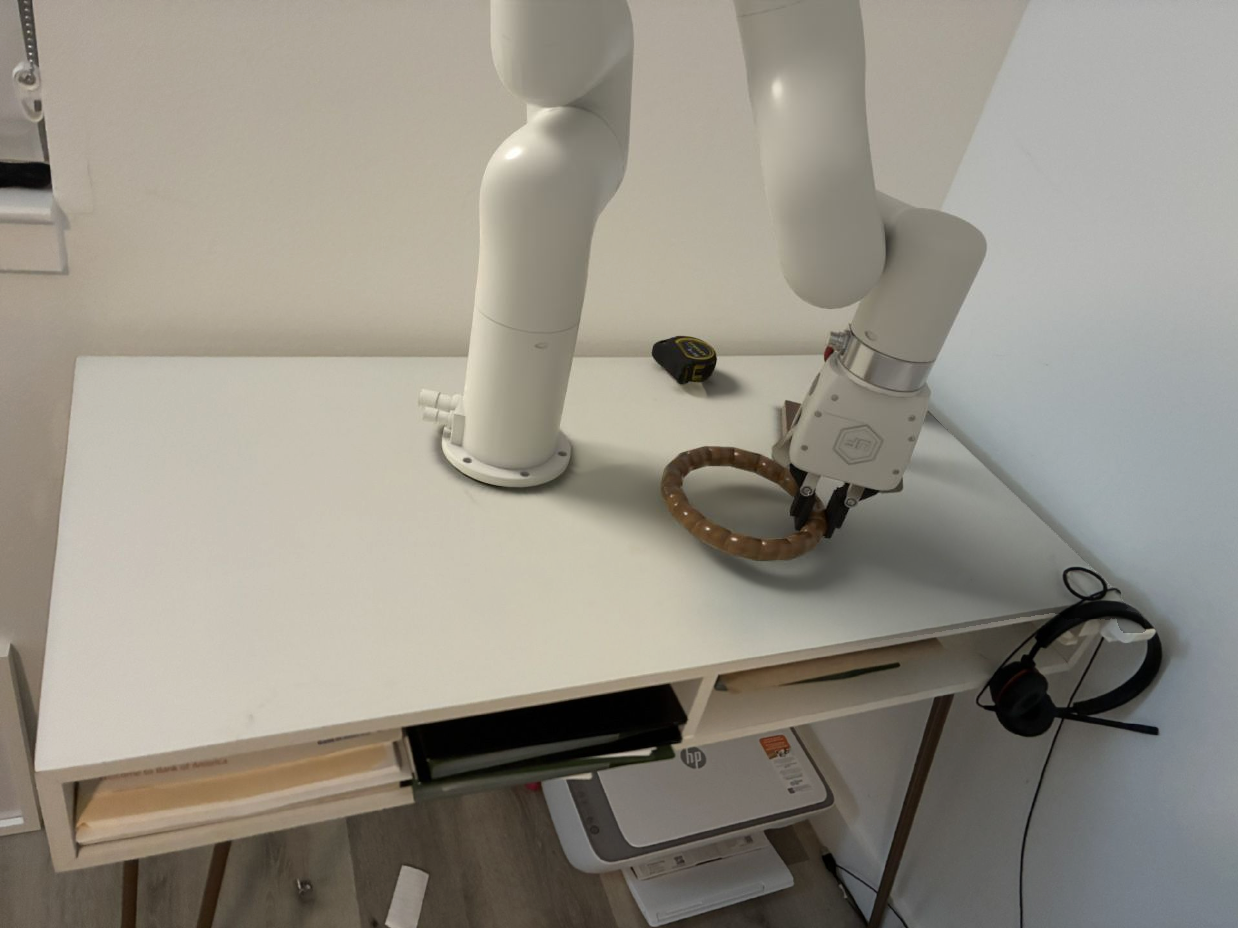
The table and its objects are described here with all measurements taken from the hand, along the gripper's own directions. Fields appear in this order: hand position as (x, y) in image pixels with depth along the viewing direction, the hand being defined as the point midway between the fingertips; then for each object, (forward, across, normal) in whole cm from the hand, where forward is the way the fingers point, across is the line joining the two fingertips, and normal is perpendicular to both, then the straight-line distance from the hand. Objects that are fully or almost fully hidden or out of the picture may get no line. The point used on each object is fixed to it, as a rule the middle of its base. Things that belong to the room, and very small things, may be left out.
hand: (811, 524), depth 87 cm
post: (+2, +3, +20) cm, 20 cm away
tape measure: (+3, -14, +27) cm, 31 cm away
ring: (-1, -7, 0) cm, 7 cm away
